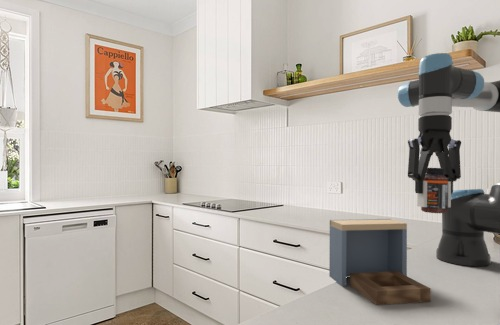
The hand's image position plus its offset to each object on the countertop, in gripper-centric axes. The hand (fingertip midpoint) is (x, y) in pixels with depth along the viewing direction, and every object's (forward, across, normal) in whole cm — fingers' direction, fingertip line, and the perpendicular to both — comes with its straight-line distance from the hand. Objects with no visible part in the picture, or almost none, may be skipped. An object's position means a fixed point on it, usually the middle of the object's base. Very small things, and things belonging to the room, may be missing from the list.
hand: (433, 206), depth 88 cm
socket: (+20, +14, +2) cm, 25 cm away
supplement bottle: (+2, 0, 0) cm, 2 cm away
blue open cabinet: (+20, +14, -8) cm, 26 cm away
